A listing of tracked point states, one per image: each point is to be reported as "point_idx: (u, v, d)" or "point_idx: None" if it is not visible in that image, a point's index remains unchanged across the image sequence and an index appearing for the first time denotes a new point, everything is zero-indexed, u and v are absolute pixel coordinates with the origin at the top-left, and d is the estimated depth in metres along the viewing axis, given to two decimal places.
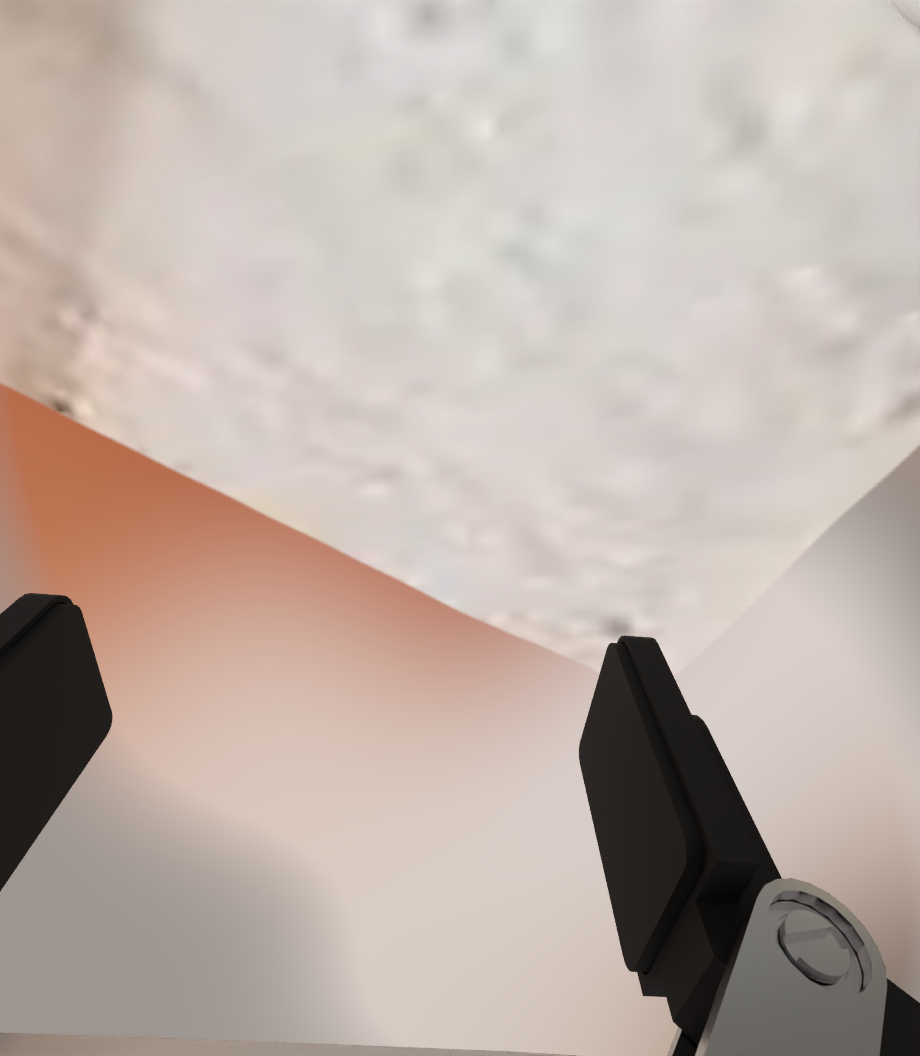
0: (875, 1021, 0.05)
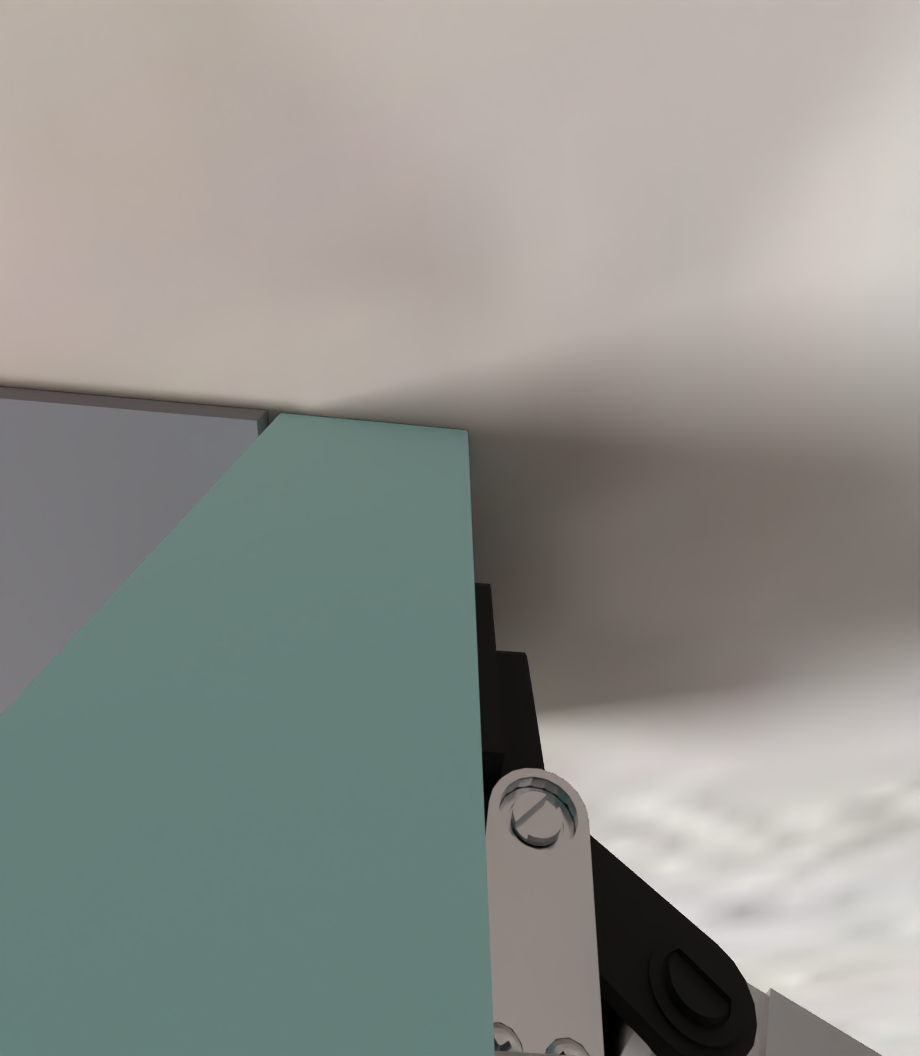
0: (587, 852, 0.06)
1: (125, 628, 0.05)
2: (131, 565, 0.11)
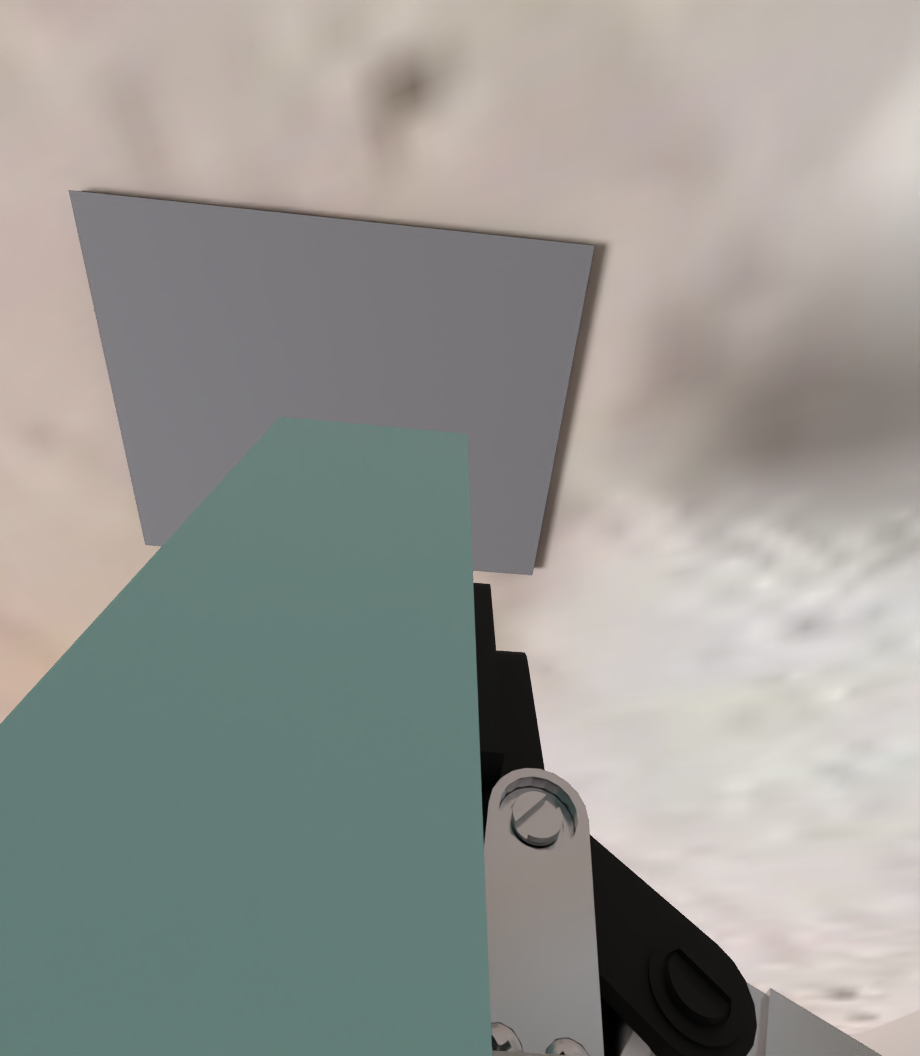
0: (586, 851, 0.06)
1: (123, 635, 0.05)
2: (503, 335, 0.21)
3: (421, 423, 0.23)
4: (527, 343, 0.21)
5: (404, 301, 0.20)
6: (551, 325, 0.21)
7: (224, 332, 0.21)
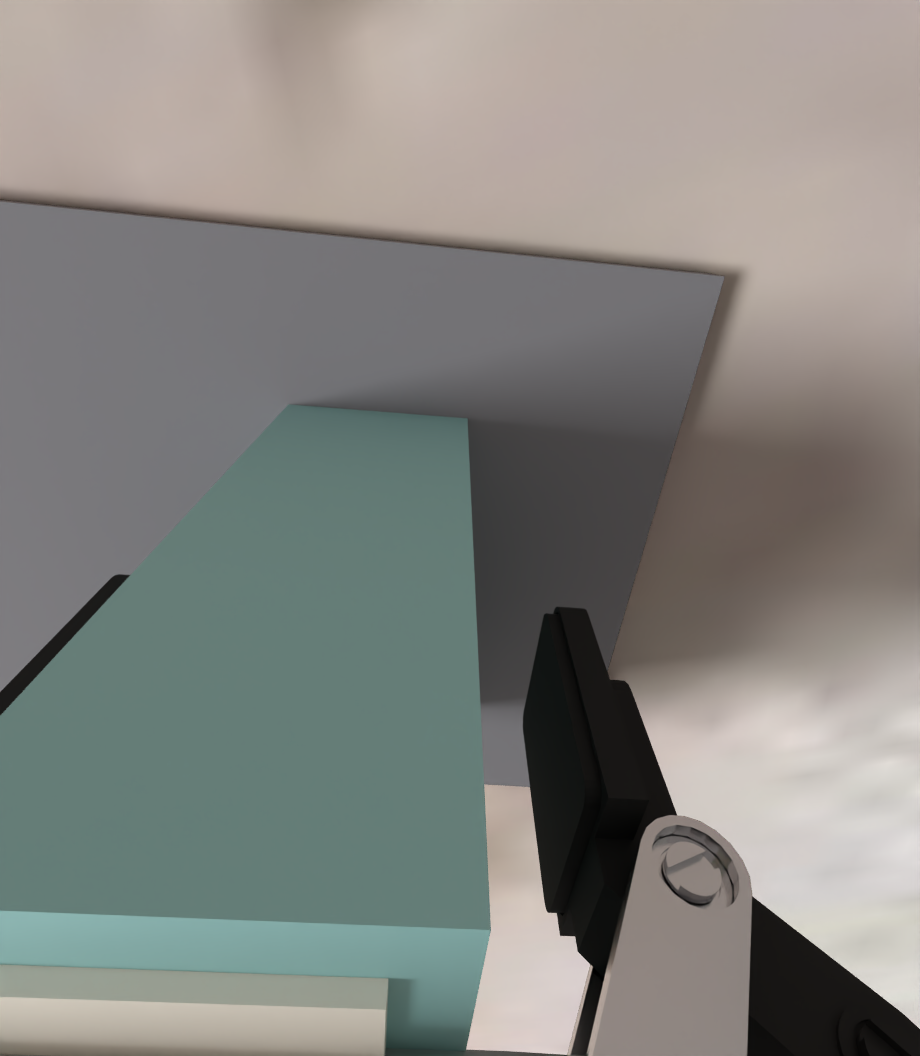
0: (746, 926, 0.06)
1: (155, 591, 0.05)
2: (536, 441, 0.11)
3: None
4: (581, 454, 0.11)
5: (348, 381, 0.11)
6: (628, 423, 0.11)
7: (11, 436, 0.11)
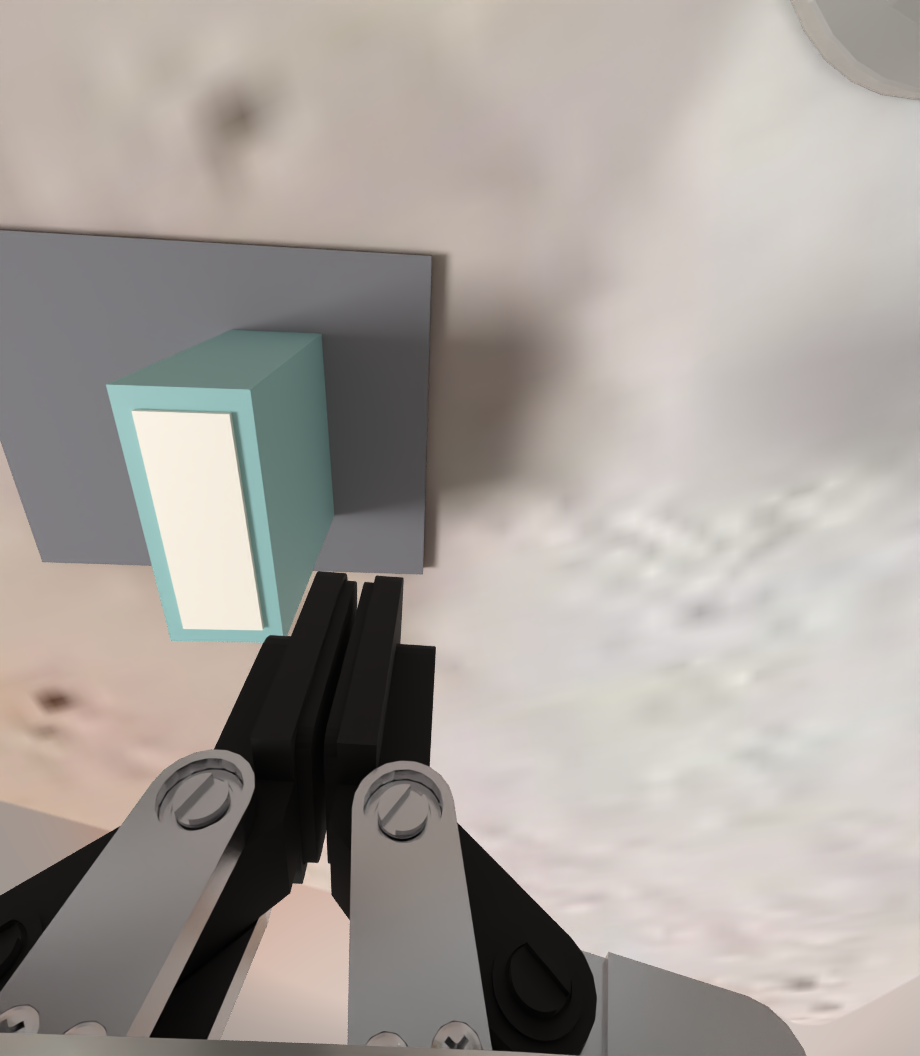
0: (455, 830, 0.06)
1: (170, 362, 0.16)
2: (358, 344, 0.22)
3: None
4: (382, 350, 0.22)
5: (259, 316, 0.21)
6: (402, 332, 0.22)
7: (91, 353, 0.22)
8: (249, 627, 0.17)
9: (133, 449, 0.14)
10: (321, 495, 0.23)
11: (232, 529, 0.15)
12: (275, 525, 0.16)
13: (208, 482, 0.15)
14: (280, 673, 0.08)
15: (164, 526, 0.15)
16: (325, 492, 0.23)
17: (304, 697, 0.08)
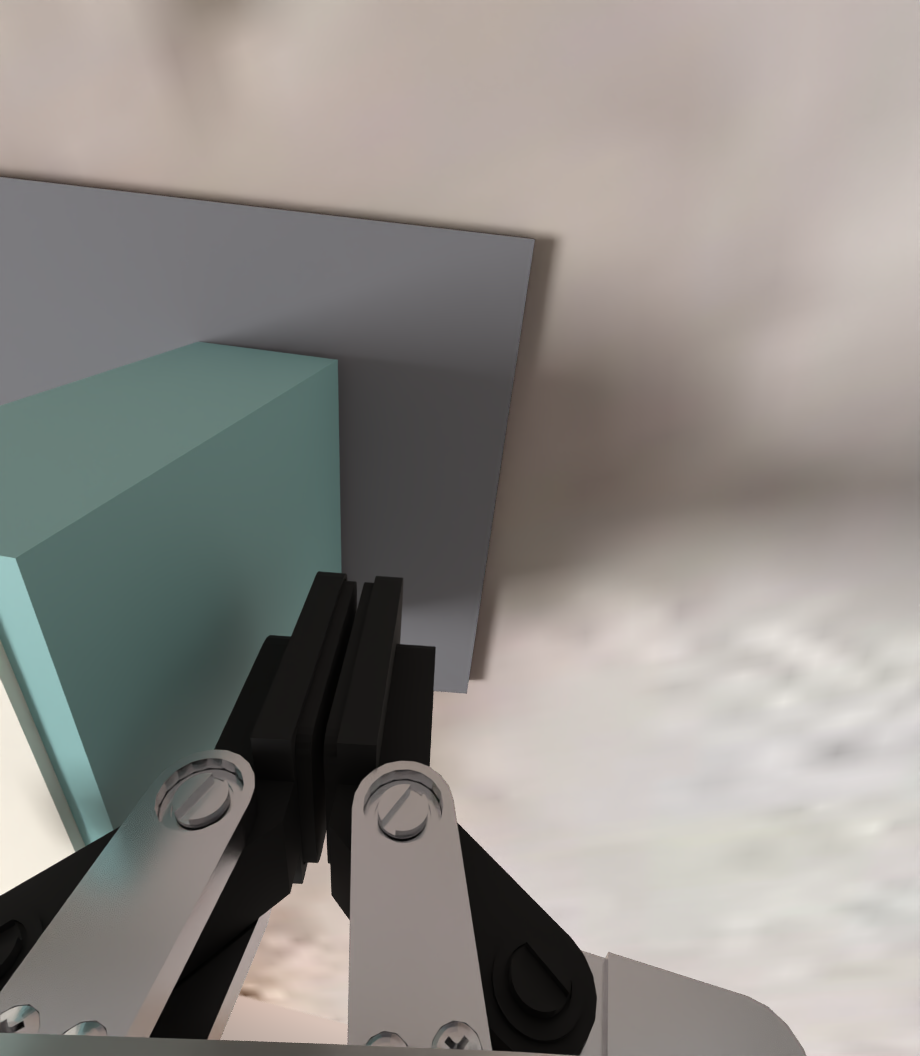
0: (455, 830, 0.06)
1: None
2: (401, 375, 0.14)
3: None
4: (438, 387, 0.14)
5: (244, 322, 0.13)
6: (473, 361, 0.14)
7: None
8: None
9: None
10: None
11: (29, 806, 0.07)
12: (141, 781, 0.08)
13: None
14: (280, 673, 0.08)
15: None
16: None
17: (304, 697, 0.08)
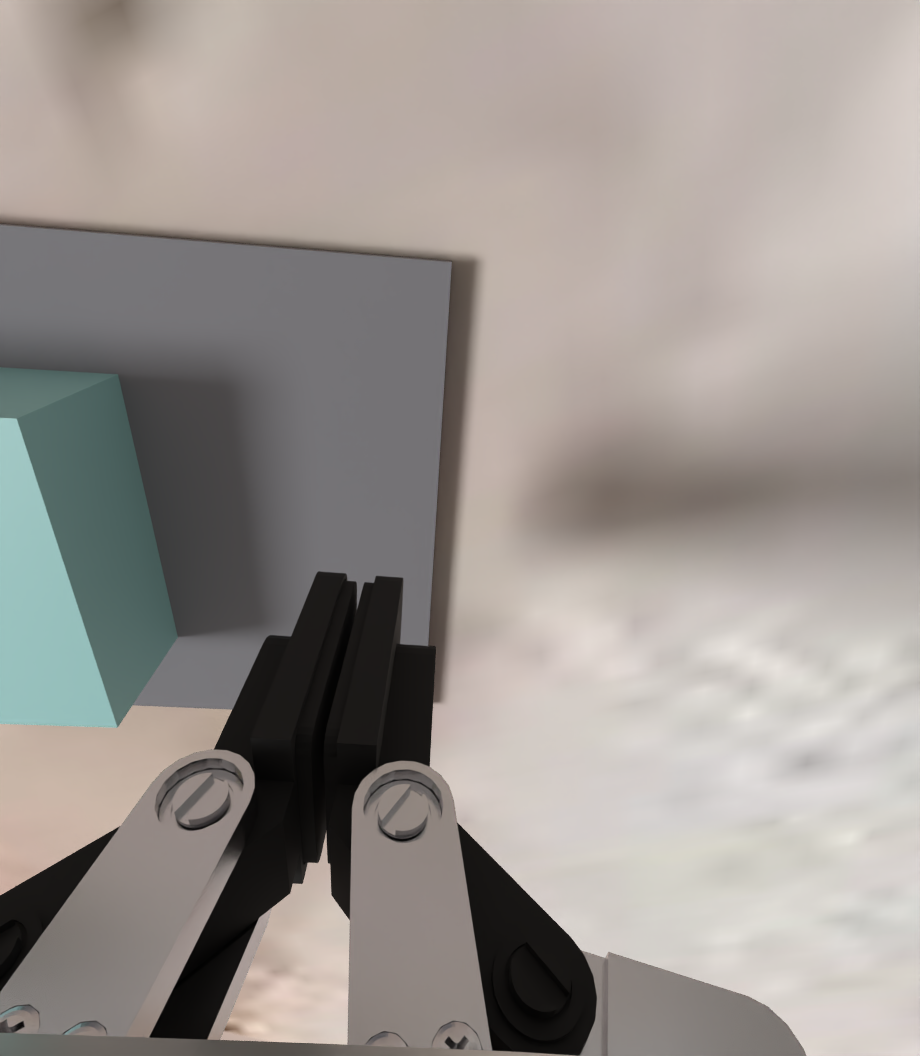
0: (455, 830, 0.07)
1: None
2: (329, 401, 0.14)
3: (228, 527, 0.15)
4: (368, 412, 0.14)
5: (165, 354, 0.13)
6: (400, 385, 0.13)
7: None
8: None
9: None
10: None
11: None
12: None
13: None
14: (280, 673, 0.08)
15: None
16: (36, 670, 0.13)
17: (304, 697, 0.08)
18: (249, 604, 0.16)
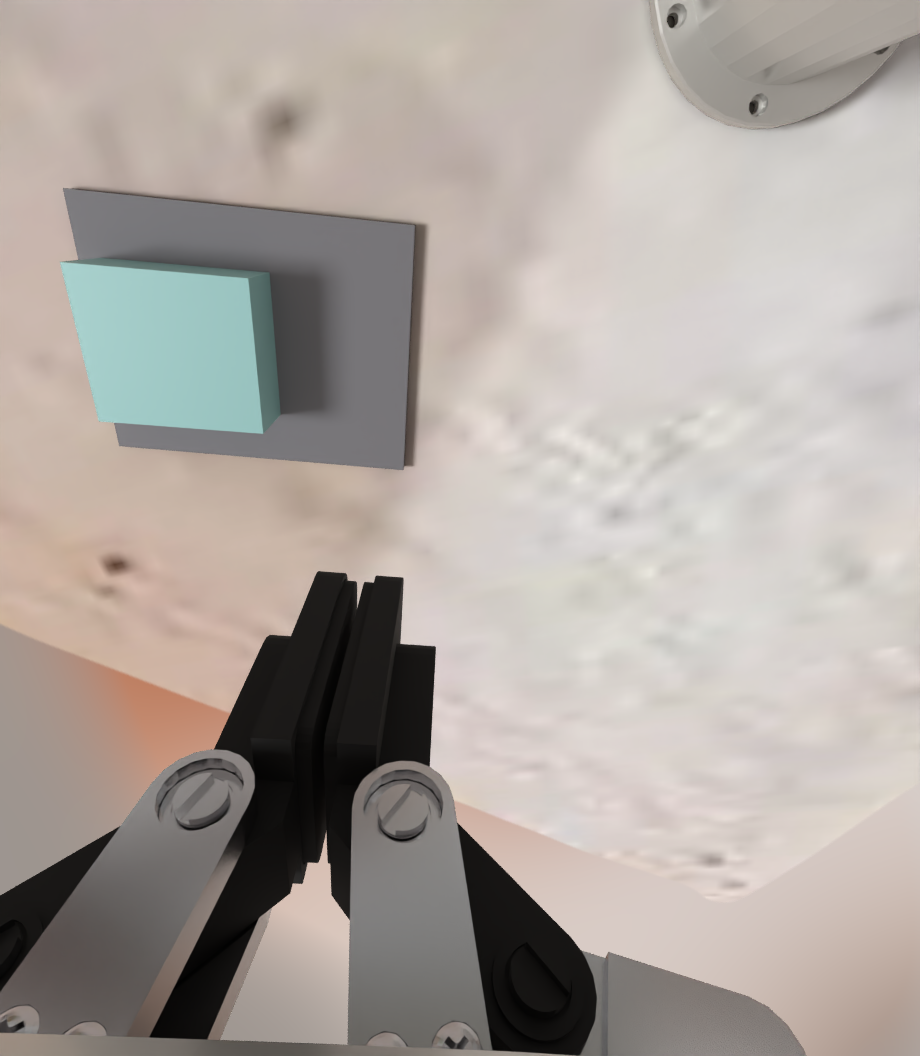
0: (455, 830, 0.07)
1: (151, 263, 0.30)
2: (361, 287, 0.31)
3: (311, 351, 0.32)
4: (378, 293, 0.31)
5: (291, 263, 0.30)
6: (392, 280, 0.30)
7: None
8: None
9: None
10: (218, 394, 0.30)
11: None
12: (93, 350, 0.29)
13: None
14: (280, 673, 0.08)
15: None
16: (233, 400, 0.30)
17: (304, 697, 0.08)
18: (317, 395, 0.33)
